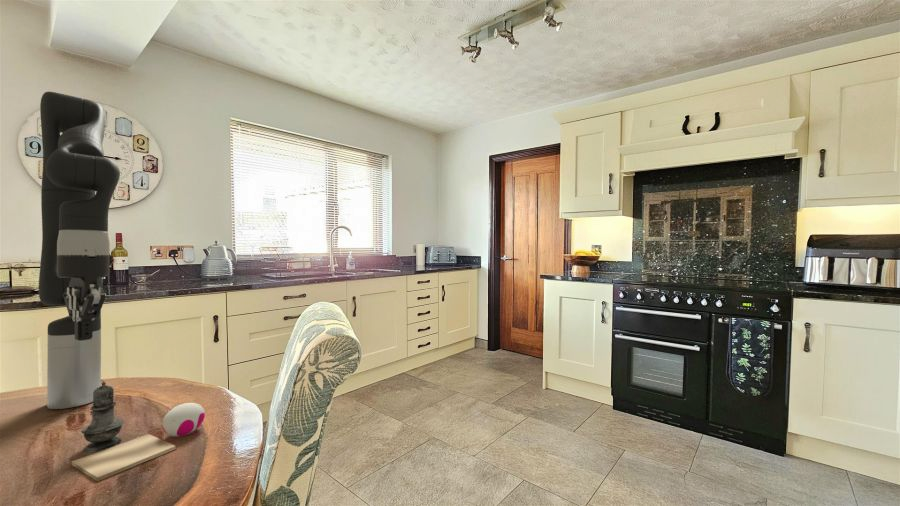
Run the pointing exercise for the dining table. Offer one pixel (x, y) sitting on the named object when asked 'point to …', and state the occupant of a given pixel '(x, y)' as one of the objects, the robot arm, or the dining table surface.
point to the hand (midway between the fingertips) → (83, 339)
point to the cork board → (122, 456)
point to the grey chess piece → (102, 421)
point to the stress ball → (183, 419)
